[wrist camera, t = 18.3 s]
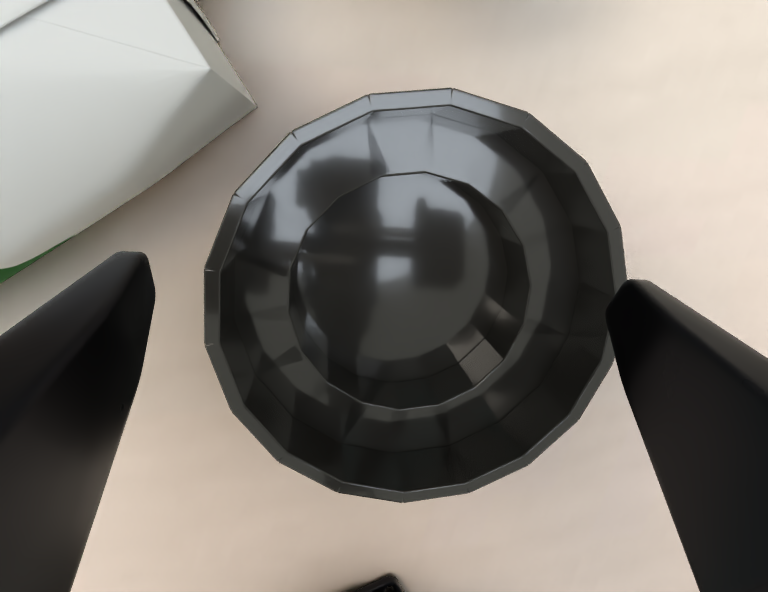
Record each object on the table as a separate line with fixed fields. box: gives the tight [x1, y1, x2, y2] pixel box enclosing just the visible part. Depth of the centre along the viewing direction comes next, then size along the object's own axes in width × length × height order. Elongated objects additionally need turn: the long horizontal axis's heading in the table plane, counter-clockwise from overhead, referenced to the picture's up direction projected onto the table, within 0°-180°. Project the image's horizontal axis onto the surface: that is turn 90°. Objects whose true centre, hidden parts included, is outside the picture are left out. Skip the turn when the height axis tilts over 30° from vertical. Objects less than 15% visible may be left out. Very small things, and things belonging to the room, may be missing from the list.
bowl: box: [204, 88, 627, 503], centre depth 18 cm, size 14×14×6 cm
